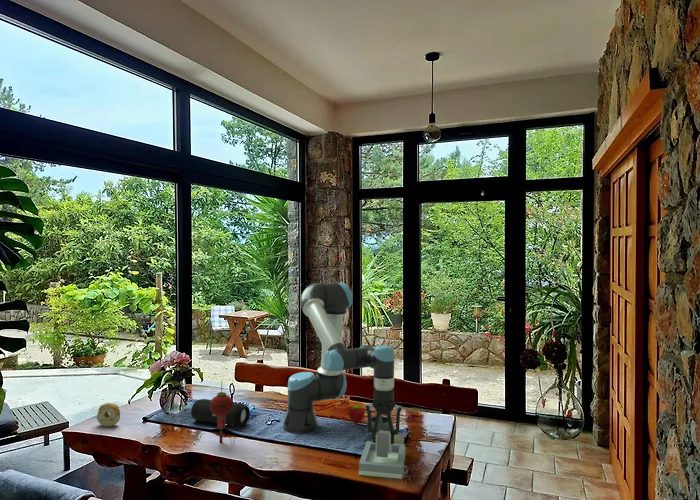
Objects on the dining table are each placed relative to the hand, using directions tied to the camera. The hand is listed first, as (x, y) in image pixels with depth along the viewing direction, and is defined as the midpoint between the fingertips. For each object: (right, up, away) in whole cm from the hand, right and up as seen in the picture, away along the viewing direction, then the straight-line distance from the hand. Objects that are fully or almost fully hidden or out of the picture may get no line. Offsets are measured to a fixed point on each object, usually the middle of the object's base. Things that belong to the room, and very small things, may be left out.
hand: (383, 451), depth 172 cm
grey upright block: (0, 0, 0) cm, 0 cm away
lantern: (-65, -4, +18) cm, 68 cm away
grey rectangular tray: (0, -5, 0) cm, 5 cm away
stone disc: (-120, -4, +36) cm, 125 cm away
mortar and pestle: (0, -5, +26) cm, 27 cm away
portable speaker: (-71, -5, +40) cm, 82 cm away
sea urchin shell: (+5, -5, +18) cm, 19 cm away
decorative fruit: (-9, -5, +40) cm, 42 cm away
